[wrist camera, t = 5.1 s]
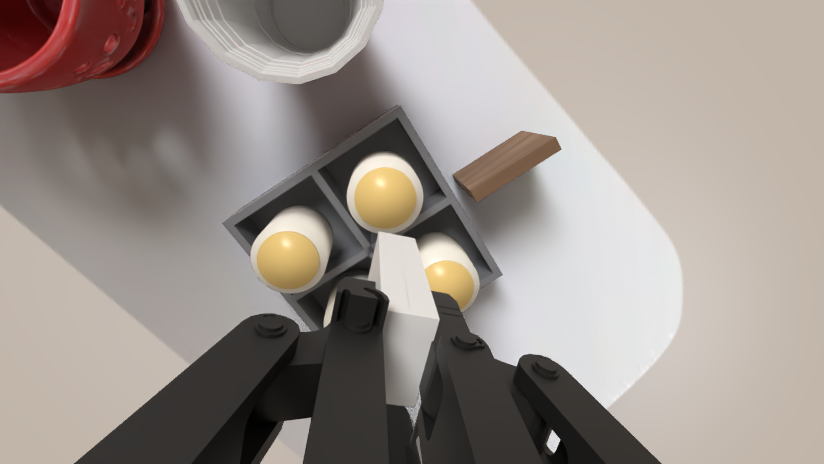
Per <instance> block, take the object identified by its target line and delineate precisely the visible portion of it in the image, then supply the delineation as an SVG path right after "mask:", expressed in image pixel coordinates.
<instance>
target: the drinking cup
mask: <svg viewBox="0 0 824 464" xmlns="http://www.w3.org/2000/svg"><path fill="white" fill-rule="evenodd" d="M386 410H387V432H388V453H389V464H421V462H420V458H419V454H418V450H417V445H416V442H415V445H410V443H411V437H412V434H413V429H412V424H411V420H410V416H409V413H408V411H407V409H406V408H405V407H404V406H399V405H391V404H386Z"/></svg>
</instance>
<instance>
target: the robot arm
mask: <svg viewBox="0 0 824 464" xmlns="http://www.w3.org/2000/svg"><path fill="white" fill-rule="evenodd" d="M419 391H420V396H421V406H420V409H419V413H418V416H417V420H416V423H415V427H414V430H413V434H412V437H411V443H410V445H415V442H416V438H417V437H418V436H419V439H420V447H421V454H422V462H423V464H661V463H660V462H659V461H658V460H657V459H656V458H655V457H654V456H653V455H652V454H651V453H650V452H649V451H648V450H647V449H646V448H645V447H644V446H643V445H642V444H641V443H640V442H639V441H638V440H637V439H636V438H635V437H634V436H633V435H632V434H631V433H630V432H629V431H628V430H627V429H626V428H625V427H624V426H622V425H621V424H620V423H619V422H618V421H617V420H616V419H615V418H614V417H613V416H612V415H611V414H610V413H609V412H608V411H607V410H606V409H605V408H604V407H603V406H602V405H601V404H600V403H599V402H598V401H597V400H596V399H595V398H594V397H593V396H592V395H591V394H590V393H589V392H588V391H587V390H586V389H585V388H584V387H583V386H582V385H581V384H580V383H579V382H578V381H577V380H576V379H575V378H574V377H572V376H571V375H570V374H569V373H568V372H567V371H566V370H565V369H564V368H563V367H562V366H560V365H559V364H558V363H556V362H554V361H552V360H551V359H550V358H547V357H544V356H541V355H533V354H528V355H523V356H522V357H521V358H520V359H519V362H518V365H517V367H516V366H513V365H510V364H507V363H504V362H501V361H499V360H496V359H494V357H493V355H492V353H491V351H490V348H489V346H488V345H487V344H486V342H485V341H484V340H482V339H481V338H480V337H478V336H477V335H474V334H472V333H470V331H469V329H468V327H467V324H466V322H465V320H464V318H463V315H462V312H461V311H460V308H459V305H458V303H457V301H456V300H455V299H454V298H452V297H451V296H450V295H449V294H447V293H442V292H436V291H431V289H430V286H429V283H428V280H427V276H426V273H425V270H424V266H423V263H422V260H421V257H420V253H419V250H418V247H417V244H416V240H415V238H410V237H405V236H400V235H395V234H390V233H385V232H380V231H379V232H378V236H377V241H376V245H375V250H374V254H373V259H372V263H371V268H370V272H369V277H368V280H363V279H357V278H351V277H345V278H343V279H342V280H340V281H339V282H338V287H337V291H336V296H335V301H334V306H333V311H332V316H331V321H330V323H329V324H328V325H327V326H326V327H324V328H322V329H320V330H316V331H311V332H300V329H299V326H298V324H297V323H295V322H294V321H293V320H292V319H289V318H287V317H285V316H281V315H277V314H270V313H269V314H268V313H267V314H259V315H255V316H251V317H249V318H247V319H245V320H244V321H242V322H241V323H240V324H239V325H238V326H236V327H235V328H234V329H233V330H232V331H231V332H229V333H228V334H227V335H226V336H225V337H223V338H222V339H221V340H220V341H219V342H218V343H216V344H215V345H214V346H213V347H212V348H210V349H209V350H208V351H207V352H206V353H204V354H203V355H202V356H201V357H200V358H199V359H197V360H196V361H195V362H194V363H193V364H191V365H190V366H189V367H188V368H187V369H186V370H184V371H183V372H182V373H181V374H180V375H178V376H177V377H176V378H175V379H174V380H173V381H171V382H170V383H169V384H168V385H167V386H165V388H163V389H162V390H161V391H159V392H158V393H157V394H156V395H155V396H154V397H152V398H151V399H150V400H149V401H148V402H146V403H145V404H144V405H143V406H142V407H141V408H139V409H138V410H137V411H136V412H135V413H133V414H132V415H131V416H130V417H129V418H128V419H127V420H125V421H124V422H123V423H122V424H120V425H119V426H118V427H117V428H116V429H115V430H113V431H112V432H111V433H110V434H109V435H107V436H106V437H105V438H104V439H103V440H101V441H100V442H99V443H98V444H97V445H95V446H94V447H93V448H92V449H91V450H90V451H88V452H87V453H86V454H85V455H84V456H83V457H81V458H80V459H79V460H78V461H77V462H76V463H74V464H260V462H261V461H262V459H263V458H264V456H265V454H266V453H267V451H268V449H269V448H270V447H271V445H272V443H273V442H274V440H275V439H276V437H277V436H278V434H279V432H280V431H281V429H282V426H283V423H284V421H287V420H295V419H303V418H310V417H312V418H311V423H310V429H309V434H308V439H307V444H306V449H305V455H304V460H303V464H389V453H388V432H387V410H386V404H391V405H399V406H406V407H414V408H415V405H416V402H417V398H418V394H419ZM552 430H553V431H554V432H555V433H556V435H557V436H558V437H559V438H560V439H561V440H560V442H559V445H558V447H557V450H556V452H555V453H553V452H552V451H551V450H550V449H549V448H548V447H547V445H546V443H547V441H548V438H549V436H550V433H551V431H552Z"/></svg>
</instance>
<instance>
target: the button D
mask: <svg viewBox="0 0 824 464" xmlns="http://www.w3.org/2000/svg"><path fill="white" fill-rule="evenodd" d="M416 244H417V247H418V250H419V253H420V257H421V260H422V263H423V266H424V270H425V273H426V276H427V280H428V283H429V286H430V289H431V291H436V292H442V293H447V294H449V295H450V296H451V297H452V298H454V299H455V300H456V301H457V303H458V305H459V308H460V311H461V312H462V313H463V312H464V311H466V310H467V309H468V308H469V307H470V306H471V305H472V304H473V302H474V301H475V299H476V297H477V295H478V292H479V285H480V283H479V276H478V273H477V271H476V269H475V267H474V266H473V264H472V262H471V261H470V259H469V258H468V256H467V254H466V253H465V251H464V249H463V248H462V246H461V245H460V243H459V242H458V241H457V240H456V239H455V238H454V237H452V236H450V235H448V234H445V233H441V232H432V233H427V234H424V235H422V236H420V237H419V238H417V239H416Z"/></svg>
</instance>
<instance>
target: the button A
mask: <svg viewBox="0 0 824 464" xmlns="http://www.w3.org/2000/svg"><path fill="white" fill-rule="evenodd" d="M333 240H334V234H333V229H332V226H331V224H330V222H329V221H328V219H327V218H326V217H325V216H324V215H323V214H322V213H321V212H319V211H318V210H316V209H314V208H311V207H308V206H292V207H288V208H286V209H284V210H282V211H281V212H279V213H278V214H277V215H276V216H275V217H274V218H273V219H272V221H271V222H270V223H269V224H268V225H267V226H266V228H265V229H264V230H263V231H262V232H261V233H260V234H259V236H258V237H257V238H256V240H255V241H254V243H253V246H252V248H251V255H250V259H251V265H252V268H253V271H254V273H255V274H256V276H257V277H258V279H259V280H260V281H261V282H262V283H263V284H265V285H266V286H267V287H269V288H271V289H273V290H275V291H278V292H282V293H299V292H303V291H306V290H308V289H310V288H312V287H313V286H314V285H316V284H317V283H318V282H319V281H320V279H321V278H322V276H323V275H324V272H325V270H326V266H327V263H328V259H329V256H330V252H331V249H332V245H333Z"/></svg>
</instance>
